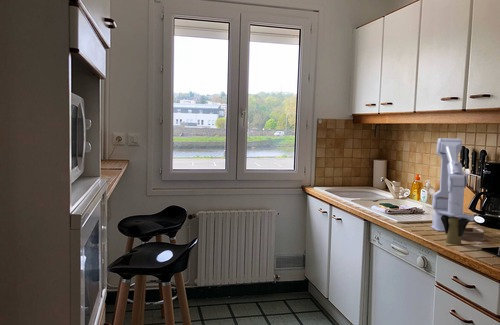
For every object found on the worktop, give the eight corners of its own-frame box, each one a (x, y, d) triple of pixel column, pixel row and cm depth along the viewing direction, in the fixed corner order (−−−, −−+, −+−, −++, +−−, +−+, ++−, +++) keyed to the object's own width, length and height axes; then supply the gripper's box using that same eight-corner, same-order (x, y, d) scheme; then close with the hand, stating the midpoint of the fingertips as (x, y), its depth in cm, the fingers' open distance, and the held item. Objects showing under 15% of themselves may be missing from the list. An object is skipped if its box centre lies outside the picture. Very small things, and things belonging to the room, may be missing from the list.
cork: (456, 241, 183) (458, 215, 182) (464, 244, 177) (465, 218, 176) (442, 240, 183) (444, 215, 182) (450, 244, 177) (451, 218, 176)
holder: (451, 234, 194) (452, 227, 194) (473, 235, 194) (473, 227, 193) (460, 240, 185) (461, 232, 184) (483, 240, 184) (484, 232, 184)
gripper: (434, 201, 181) (432, 232, 182) (470, 206, 171) (468, 239, 172) (441, 199, 186) (440, 230, 187) (477, 204, 175) (475, 237, 176)
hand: (453, 234), depth 180 cm, fingers closed on cork, 5 cm apart
